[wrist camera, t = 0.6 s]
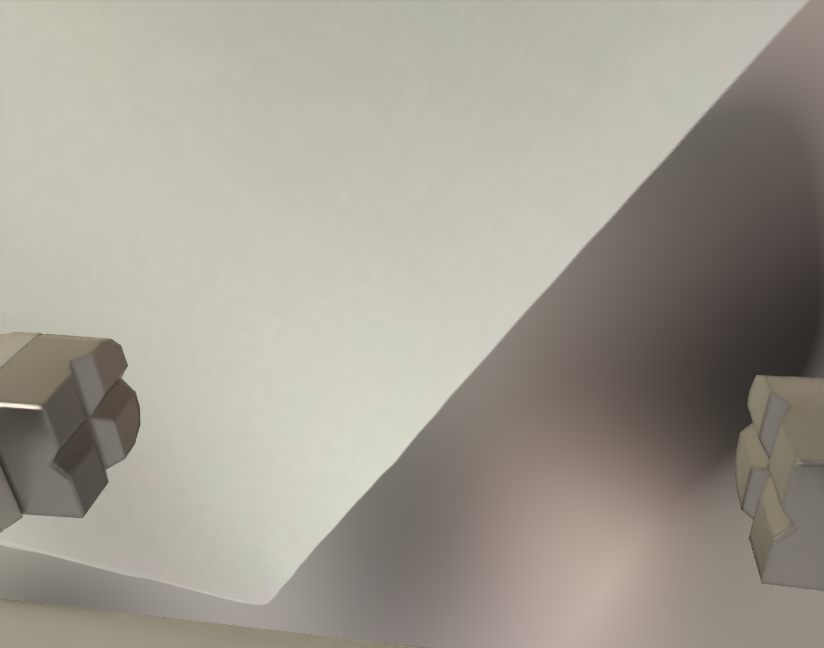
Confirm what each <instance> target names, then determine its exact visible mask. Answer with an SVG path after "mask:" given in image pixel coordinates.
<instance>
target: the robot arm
mask: <svg viewBox="0 0 824 648" xmlns="http://www.w3.org/2000/svg"><path fill="white" fill-rule="evenodd" d="M127 366H128V365H127V362H126V359H125V356H124V353H123V350H122V347H121V345H120V344H118V343H117V342H115V341H114V340H112V339H107V338H94V337H81V336H68V335H55V334H41V333H24V332H12V333H6V334H1V335H0V532H2V531H3V530H5V529H6V528H8V527H9V526H11V525H12V524H14V523H15V522H16V521H18V520H19V519H21V518H22V517H23V516H22V514H28V515H43V516H58V517H73V518H83V517H84V516H85V514H86V513H87V511H88V510H89V509H90V507H91V506H92V504H93V503H94V502H95V500H96V499H97V497H98V496H99V495H100V493H101V492H102V490H103V489H104V488H105V486H106V485H107V483H108V477H107V472H106V469H108V468H110V467H111V466H113V465H115V464H117V463H119V462H120V461H122V460H124V459H125V458H126V456H127V455H128V453H129V452H130V450H131V449H132V447H133V446H134V444H135V442H136V438H137V434H138V431H139V427H140V406H139V403H138V399H137V395H136V392H135V391H134V390H133V389H132V388H131V387H130V386H129V385H128V384H127V383H126V382H125V381H124V380H123V379H122V376H123V374H124V372H125V370H126V368H127ZM747 404H748V407H749V410H750V413H751V417H752V420H753V423H752V424H751V425H749V426H748V427H747V428H746V429H744V430H743V431H742V432H741V433H740V438H739V443H738V448H737V453H736V472H735V479H736V486H737V494H738V498H739V502H740V506H741V509H742V510H743V511H744V512H745V513H746V514H747V515H749V516H750V517H751V518H752V519H753V524H752V529H751V532H750V536H749V540H750V543H751V547H752V550H753V554H754V558H755V561H756V565H757V568H758V572H759V575H760V579H761V583H762V584H770V585H778V586H787V587H795V588H804V589H812V590H820V591H824V378H814V377H790V376H764V375H762V376H761V375H757V376H756V378H755V380H754V382H753V384H752V386H751V391H750V394H749V398H748V402H747ZM0 648H425V647H416V646H408V645H399V644H390V643H382V642H374V641H365V640H356V639H347V638H339V637H331V636H322V635H313V634H305V633H296V632H287V631H279V630H270V629H262V628H253V627H243V626H236V625H227V624H218V623H210V622H201V621H192V620H184V619H175V618H166V617H158V616H149V615H140V614H131V613H123V612H115V611H106V610H98V609H89V608H80V607H71V606H64V605H54V604H45V603H38V602H29V601H21V600H11V599H3V598H0Z"/></svg>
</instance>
